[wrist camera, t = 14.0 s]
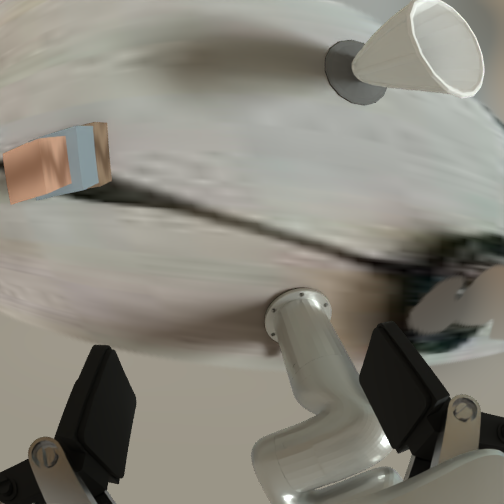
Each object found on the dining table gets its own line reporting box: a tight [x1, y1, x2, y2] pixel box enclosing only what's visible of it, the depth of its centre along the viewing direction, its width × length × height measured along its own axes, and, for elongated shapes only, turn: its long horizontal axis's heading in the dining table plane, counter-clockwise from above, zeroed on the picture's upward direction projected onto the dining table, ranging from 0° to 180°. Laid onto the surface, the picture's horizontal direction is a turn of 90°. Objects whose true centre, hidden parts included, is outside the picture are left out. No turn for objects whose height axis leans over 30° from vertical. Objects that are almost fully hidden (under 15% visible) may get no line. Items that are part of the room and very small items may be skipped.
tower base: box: [81, 122, 112, 188], centre depth 34 cm, size 9×9×5 cm
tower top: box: [28, 126, 99, 200], centre depth 29 cm, size 8×8×5 cm
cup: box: [325, 0, 484, 105], centre depth 25 cm, size 12×12×22 cm
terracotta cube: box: [3, 136, 72, 204], centre depth 24 cm, size 6×6×6 cm
